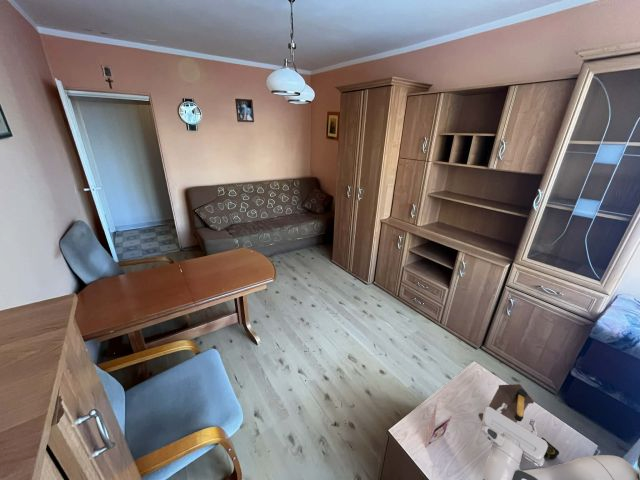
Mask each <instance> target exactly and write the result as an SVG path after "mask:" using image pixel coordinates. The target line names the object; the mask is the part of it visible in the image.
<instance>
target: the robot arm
mask: <svg viewBox="0 0 640 480" xmlns="http://www.w3.org/2000/svg"><path fill="white" fill-rule="evenodd" d="M507 406H508V405H507V404H505V403H503V404H502V407H500V408H498V409H497V410H494V409H492V408H491V407H489V406H486V407H485V409H484V411H483V413H484V414H483V420H482V421H481V422H482V428H481V433H482V434H483V435H484V437H486V439H487V440H489V442H490V443H491V447H490V454H489V455H488V457H487V458H486V462H485V465H484V469H483V475H482V480H640V454H639V456H638V458H637V464H636V465H637V467H638V469H636V468H635V467H634V466H633V465H632V464H630V463H629V462H628V461H627V460H626V459H625V458H622V457H620V456H617V455H612V454H599V455H598V454H596V455H587V456H583V457H579V458H575V459H572V460H569V461H566V462H562V463H558V464H555V465H551V466H544V463H545V457H544V455H545V453H546V451H547V448H548V444H547V442H546V441H547V440H546V439H545V440H546V441H545V440H543V439H541V438H542V437H539V436H538V430H537V427H536V424H537V421H536V420H534V419H532V418H531V419H530V420H529V424H528V425H530V426H531V428H532V430H529V429H527V428H525V427H524V426H522V425H520V424H519V423H518V422H517V423H515V422H514V421H512V420H510V419H509V418H507V417H505V416H504V415H502V414H501V412H502V411H501V409H505V410H506V409H507ZM522 458H523V459H525V460H526V461H528V462H529V463H531V464H532V465H533V466H535V468H527V469H521V468H520V464H521V461H522ZM543 466H544V467H543Z"/></svg>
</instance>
